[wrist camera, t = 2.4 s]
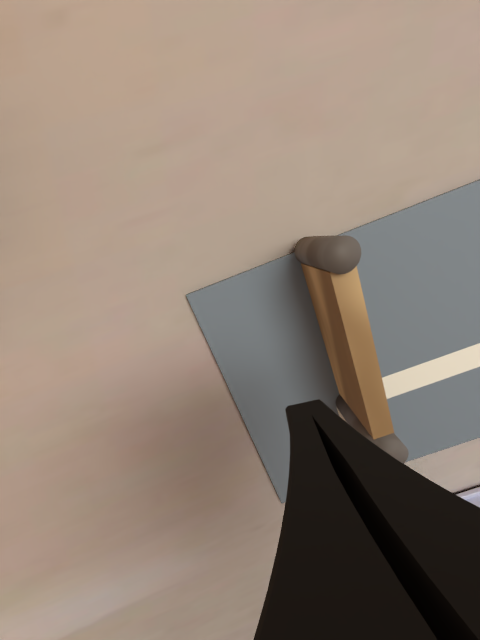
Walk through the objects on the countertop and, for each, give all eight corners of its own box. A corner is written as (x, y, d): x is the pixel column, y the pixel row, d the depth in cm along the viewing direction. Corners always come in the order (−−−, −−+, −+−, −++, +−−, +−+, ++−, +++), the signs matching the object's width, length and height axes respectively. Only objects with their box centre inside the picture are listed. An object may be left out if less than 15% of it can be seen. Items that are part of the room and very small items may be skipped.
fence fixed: (358, 386, 19) (405, 438, 14) (382, 476, 22) (428, 545, 17) (332, 395, 19) (370, 450, 14) (359, 483, 22) (399, 554, 17)
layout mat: (525, 161, 15) (531, 159, 15) (527, 417, 21) (532, 420, 21) (186, 294, 16) (185, 295, 16) (281, 499, 22) (281, 503, 22)
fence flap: (316, 232, 15) (356, 229, 10) (357, 386, 18) (401, 435, 14) (291, 242, 15) (320, 243, 10) (336, 394, 18) (373, 444, 14)
